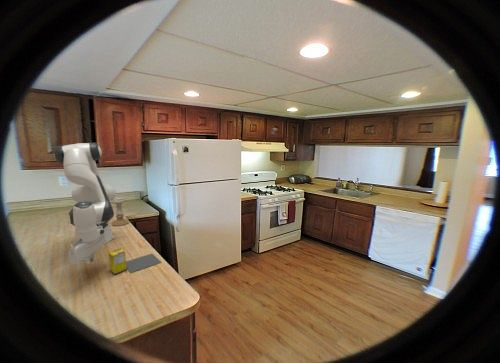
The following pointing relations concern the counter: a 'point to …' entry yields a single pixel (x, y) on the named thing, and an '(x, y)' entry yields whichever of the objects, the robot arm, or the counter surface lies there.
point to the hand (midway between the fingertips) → (90, 262)
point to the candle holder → (119, 213)
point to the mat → (142, 263)
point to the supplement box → (117, 261)
